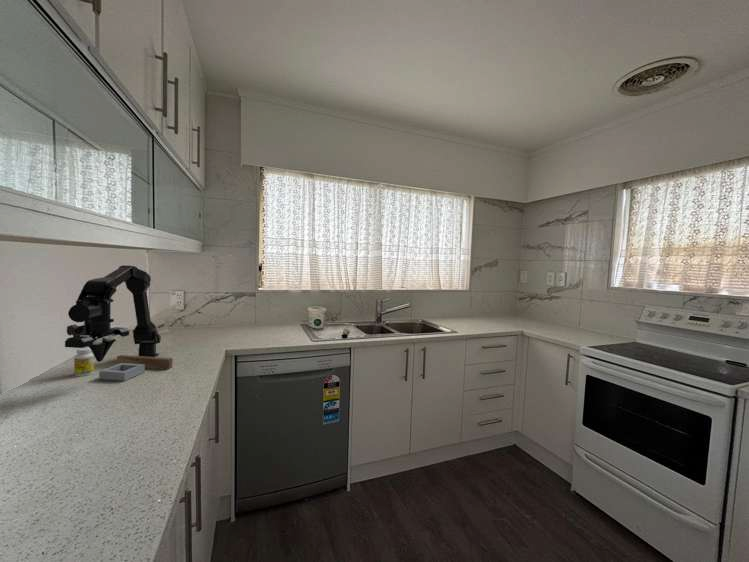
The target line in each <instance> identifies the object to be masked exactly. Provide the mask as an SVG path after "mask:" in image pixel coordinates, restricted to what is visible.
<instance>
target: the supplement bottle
mask: <svg viewBox="0 0 749 562" xmlns="http://www.w3.org/2000/svg"><path fill="white" fill-rule="evenodd" d="M94 358H95V356H94V354H93V352H92V350H91V349H90V348H89V347H84V348H76V354H75V356H74V358H73V359H74V360H73V361H74V367H73V368H74V376H77V377H83V376H89V375H91V374H94V371H95V366H94V365H95V364H94V363H95V361H94Z"/></svg>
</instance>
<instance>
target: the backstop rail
mask: <svg viewBox="0 0 749 562" xmlns="http://www.w3.org/2000/svg"><path fill="white" fill-rule="evenodd" d="M120 363H129V364H145V369H157V368H162V369H161V370H170V368H171V369H172V368H173V358H172V357H159V356H158V357H157V356H154V357H145V356H139V355H129V354H128V355H127V354H125V355H124V354H121V355H117V356H116V365H117V364H120Z"/></svg>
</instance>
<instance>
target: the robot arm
mask: <svg viewBox="0 0 749 562" xmlns="http://www.w3.org/2000/svg"><path fill="white" fill-rule="evenodd" d="M151 281H152V277H151V275H150V274H149V273H148V272H146V271H144V270H143V269H140V268H138V267H137V266H135V265H127V264H126V265H124V264H123V265H119V267H118V268H117V269H115V270H114V271H112V272H110V273H108V274H107V275H105V276H104V277H98V278H92V279H90V280H88V281H86V282H85V284H84V285H83V287H82V289H81V291H80V293H79V295H78V298H77V299H76V301H75V304H74V305H72V306H71V307H70V308H69V310H68V313H67V314H68V318H69V319H70V320H72V321H73V322H75V324H71V325H67V327H66V333H67V335H68V336H69V337H68V338H66V339H65V341H64V347H65V348H72V349H73V348H74V349H80V348H90V349H91V353H92V354H93V355H94V358H95V360H96V362H103V360H104V359H105V357H106V355H107V353H108V352H109V350H110V349H111V347H112V346H113V345H114V343H115V342H116V341H117V339H115V338H114V339H113V337H114V336H115V337H116V336H120V337H122V338H124V337H128V336H130V330H129V329H128V327H118V326H116V327H115V326H114V327H111V323H113V322H115V320H114V319H115V318H111V304H112V303H113V302H114V299H113V296H114V294H115V293H116V292H117V287H118V286H120V285H121V284H123V283H125V286H126V289H127V290H128V291H129V292H131V294H132V297H133V304H134V306H133V307H134V312H135V318H136V319H135V320H136V326H135V328H134V329H133V330H132V334H133V335H132V338H133V342H134V345H138V356H145V357H157V356H159V355H160V353H159V352H158V353H157V344H161V340H162V339H161V338H162V337H161V335H160V334H159V332H158V330H157V325H155V323H153V322H152V320H151V314H150V308H149V307H150V306H149V300H148V293H147V291H148V289H149V288H150V286H151ZM76 323H83V324H82V325H77V324H76ZM70 336H71V337H70ZM156 355H157V356H156Z"/></svg>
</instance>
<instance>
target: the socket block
mask: <svg viewBox="0 0 749 562" xmlns="http://www.w3.org/2000/svg"><path fill="white" fill-rule="evenodd" d="M145 369H146V368H145V364H129V363H120V364H117V363H116V364H115V365H112V366H110V367H107V368H104V369H102V370H99V371H98V373H99V376H98V379H99V380H105V381H106V380H107V381H118V382H119V381H122V382H124V381H128V380H130V379H132V378H135V377H137V376H139V375H142V374H144V373H145V372H146V370H145Z"/></svg>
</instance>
